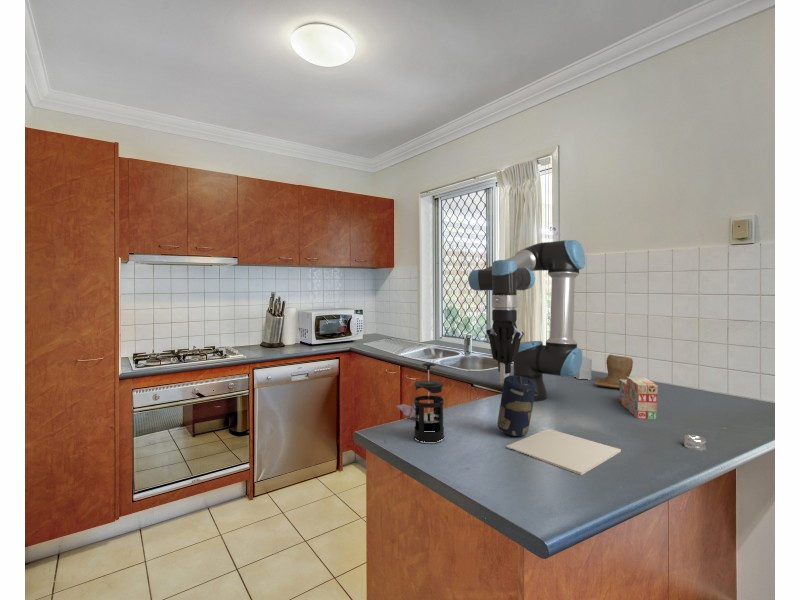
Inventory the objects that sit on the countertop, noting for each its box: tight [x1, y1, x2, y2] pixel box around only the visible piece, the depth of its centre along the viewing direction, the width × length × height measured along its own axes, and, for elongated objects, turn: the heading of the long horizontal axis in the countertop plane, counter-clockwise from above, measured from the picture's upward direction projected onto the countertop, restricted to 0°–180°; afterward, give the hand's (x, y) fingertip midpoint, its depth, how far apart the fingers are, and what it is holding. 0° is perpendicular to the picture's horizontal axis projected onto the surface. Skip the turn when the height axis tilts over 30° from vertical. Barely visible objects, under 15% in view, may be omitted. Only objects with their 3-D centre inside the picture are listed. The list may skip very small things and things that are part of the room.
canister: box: [497, 374, 536, 437], centre depth 124 cm, size 10×10×18 cm
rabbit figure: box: [395, 403, 415, 419], centre depth 143 cm, size 6×6×15 cm
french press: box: [413, 362, 445, 442], centre depth 123 cm, size 12×9×23 cm
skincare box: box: [573, 355, 593, 381], centre depth 204 cm, size 10×6×10 cm, turn 179°
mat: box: [505, 428, 622, 476], centre depth 113 cm, size 22×22×1 cm
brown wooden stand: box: [594, 354, 634, 390], centre depth 183 cm, size 15×12×15 cm
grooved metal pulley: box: [683, 434, 707, 452], centre depth 114 cm, size 5×3×5 cm
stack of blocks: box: [619, 376, 659, 421], centre depth 148 cm, size 21×6×12 cm, turn 166°
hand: (504, 382), depth 128 cm, fingers closed
